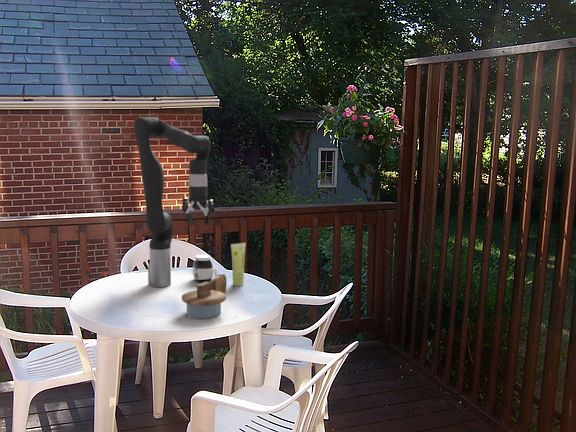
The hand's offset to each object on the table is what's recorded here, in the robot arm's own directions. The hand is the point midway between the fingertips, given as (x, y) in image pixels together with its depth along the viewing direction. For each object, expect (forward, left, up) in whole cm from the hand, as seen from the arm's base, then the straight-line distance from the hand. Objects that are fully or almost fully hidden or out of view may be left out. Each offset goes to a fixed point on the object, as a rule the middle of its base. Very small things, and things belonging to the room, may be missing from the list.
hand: (198, 223), depth 243 cm
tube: (+4, +26, -32) cm, 42 cm away
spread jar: (-12, +25, -32) cm, 43 cm away
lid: (+13, -15, -26) cm, 33 cm away
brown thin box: (+5, +8, -32) cm, 34 cm away
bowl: (+13, -15, -32) cm, 38 cm away
